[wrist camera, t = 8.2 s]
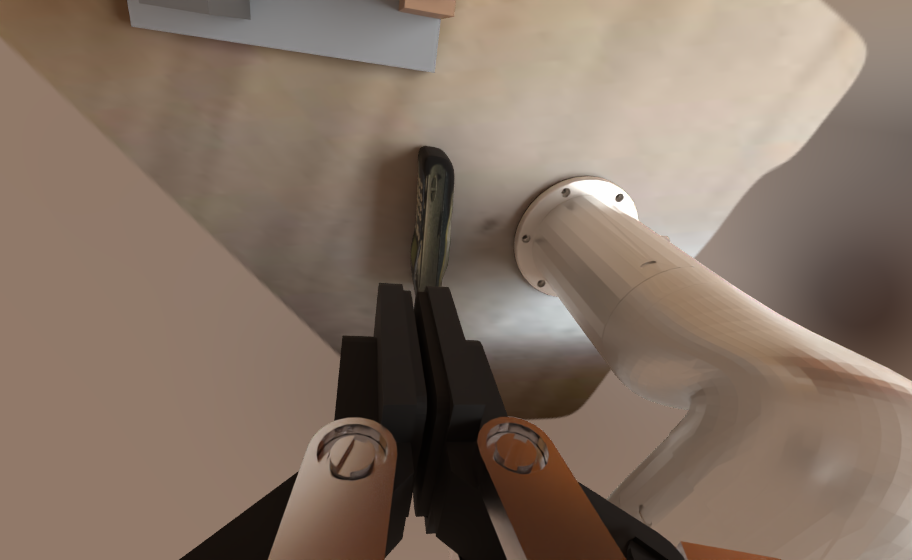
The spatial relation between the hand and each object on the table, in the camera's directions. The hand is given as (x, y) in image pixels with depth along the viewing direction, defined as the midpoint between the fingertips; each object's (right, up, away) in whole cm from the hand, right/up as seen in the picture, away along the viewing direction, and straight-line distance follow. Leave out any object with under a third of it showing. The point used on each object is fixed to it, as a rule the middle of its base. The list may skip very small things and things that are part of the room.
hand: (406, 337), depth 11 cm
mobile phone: (-2, +6, +30) cm, 31 cm away
